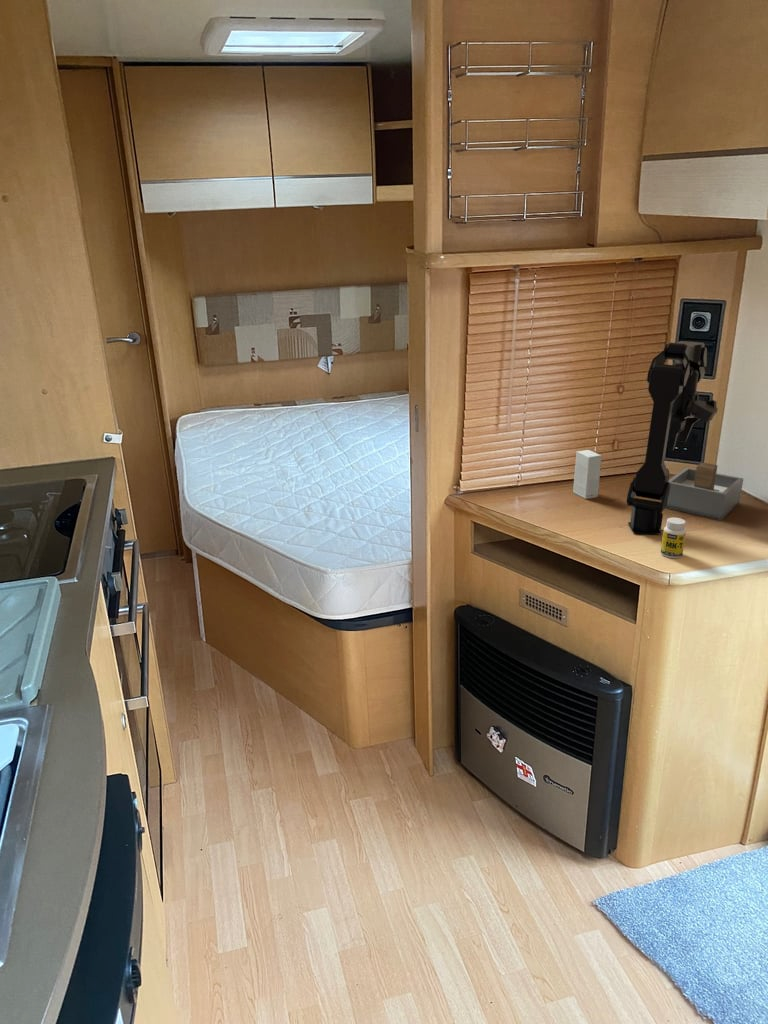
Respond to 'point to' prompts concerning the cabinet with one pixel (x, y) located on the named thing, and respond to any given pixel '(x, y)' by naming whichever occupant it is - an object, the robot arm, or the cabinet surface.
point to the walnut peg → (705, 476)
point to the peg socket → (704, 495)
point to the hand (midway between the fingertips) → (677, 446)
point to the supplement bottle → (673, 538)
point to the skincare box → (587, 474)
